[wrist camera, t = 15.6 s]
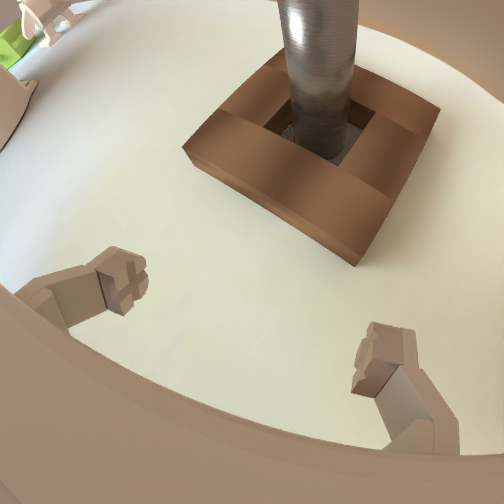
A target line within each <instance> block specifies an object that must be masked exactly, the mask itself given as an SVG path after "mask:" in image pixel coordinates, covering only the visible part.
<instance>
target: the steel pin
mask: <svg viewBox="0 0 504 504" xmlns="http://www.w3.org/2000/svg"><path fill="white" fill-rule="evenodd" d="M277 1H278V7H279V13H280V20H281V27H282V33H283V40H284V48H285V55H286V63H287V71H288V79H289V88H290V97H291V106H292V116H293V126H294V136H295V144H297V145H299V146H301V147H303V148H305V149H307V150H309V151H311V152H312V153H314V154H316V155H318V156H320V157H322V158H323V159H325V160H328V159H332V158H334V157H336V156H337V155H338V154H339V153H340V152H341V151H342V149H343V146H344V141H345V134H346V127H347V120H348V113H349V106H350V98H351V89H352V81H353V72H354V62H355V51H356V39H357V25H358V9H359V0H277Z"/></svg>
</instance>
